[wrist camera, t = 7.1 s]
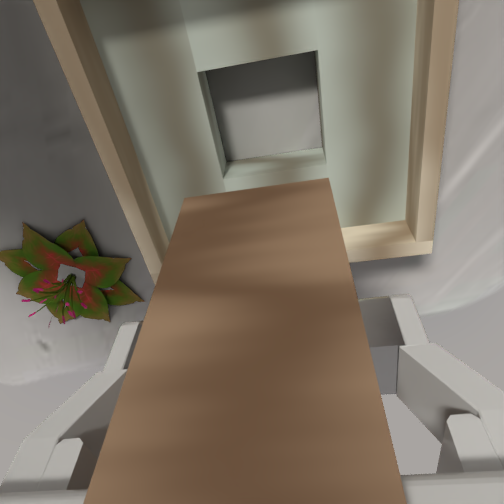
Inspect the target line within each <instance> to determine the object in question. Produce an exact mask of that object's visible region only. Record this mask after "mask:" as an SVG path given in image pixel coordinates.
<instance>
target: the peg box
mask: <svg viewBox="0 0 504 504" xmlns="http://www.w3.org/2000/svg"><path fill="white" fill-rule="evenodd" d="M33 2H34V4H35V7H36V9H37V11H38V14H39V16H40V18H41V20H42V23H43V25H44V27H45V30H46V32H47V34H48V37H49V39H50V41H51V44H52V46H53V48H54V51H55V53H56V55H57V58H58V60H59V62H60V65H61V67H62V69H63V72H64V74H65V76H66V79H67V81H68V83H69V86H70V88H71V90H72V93H73V95H74V97H75V100H76V102H77V104H78V107H79V109H80V111H81V114H82V116H83V118H84V121H85V123H86V125H87V128H88V130H89V132H90V135H91V137H92V139H93V142H94V144H95V146H96V149H97V151H98V153H99V156H100V158H101V160H102V163H103V165H104V167H105V170H106V172H107V174H108V177H109V179H110V181H111V184H112V186H113V188H114V191H115V193H116V195H117V198H118V200H119V202H120V205H121V207H122V209H123V212H124V214H125V216H126V219H127V221H128V223H129V226H130V228H131V230H132V233H133V235H134V237H135V240H136V242H137V244H138V247H139V249H140V251H141V254H142V256H143V258H144V261H145V263H146V265H147V268H148V270H149V272H150V275H151V277H152V279H153V282H154V284H155V285H156V282H157V279H158V276H159V273H160V270H161V267H162V264H163V261H164V258H165V255H166V252H167V249H168V246H169V243H170V240H171V237H172V234H173V231H174V228H175V225H176V222H177V219H178V216H179V213H180V210H181V207H182V204H183V201H184V198H187V197H195V196H202V195H209V194H216V193H223V192H230V191H237V190H244V189H251V188H258V187H265V186H272V185H279V184H287V183H294V182H301V181H308V180H315V179H322V178H329V181H330V185H331V189H332V193H333V198H334V202H335V206H336V210H337V214H338V218H339V223H340V227H341V231H342V235H343V239H344V243H345V248H346V252H347V256H348V260H349V263H352V262H361V261H369V260H378V259H387V258H395V257H404V256H413V255H422V254H430V253H432V246H433V236H434V227H435V218H436V209H437V199H438V190H439V181H440V172H441V162H442V153H443V144H444V134H445V125H446V116H447V107H448V97H449V88H450V79H451V69H452V60H453V51H454V42H455V32H456V23H457V14H458V4H459V0H33ZM310 51H315V62H316V74H317V87H318V100H319V112H320V125H321V138H322V147H321V148H315V149H308V150H302V151H295V152H288V153H282V154H275V155H269V156H262V157H256V158H249V159H243V160H236V161H229V162H226V158H225V154H224V150H223V145H222V141H221V137H220V133H219V128H218V124H217V120H216V115H215V111H214V107H213V102H212V98H211V94H210V90H209V85H208V81H207V77H206V72H205V71H206V70H212V69H217V68H223V67H228V66H233V65H239V64H244V63H250V62H255V61H261V60H266V59H272V58H277V57H282V56H288V55H293V54H299V53H304V52H310Z"/></svg>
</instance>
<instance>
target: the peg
mask: <svg viewBox="0 0 504 504" xmlns="http://www.w3.org/2000/svg"><path fill="white" fill-rule="evenodd" d="M83 504H407V502H406V498H405V494H404V490H403V485H402V481H401V477H400V473H399V469H398V465H397V460H396V456H395V452H394V448H393V444H392V440H391V436H390V431H389V428H388V423H387V419H386V415H385V410H384V406H383V402H382V398H381V394H380V389H379V385H378V381H377V377H376V373H375V369H374V364H373V360H372V356H371V352H370V348H369V344H368V339H367V335H366V331H365V327H364V323H363V319H362V314H361V310H360V306H359V302H358V298H357V293H356V289H355V285H354V281H353V277H352V273H351V268H350V264H349V260H348V256H347V252H346V248H345V243H344V239H343V235H342V231H341V227H340V223H339V218H338V214H337V210H336V206H335V202H334V198H333V193H332V189H331V185H330V181H329V178H322V179H315V180H308V181H301V182H294V183H287V184H279V185H272V186H265V187H258V188H251V189H244V190H237V191H230V192H223V193H216V194H209V195H202V196H195V197H187V198H184V201H183V204H182V207H181V210H180V213H179V216H178V219H177V222H176V225H175V228H174V231H173V234H172V237H171V240H170V243H169V246H168V249H167V252H166V255H165V258H164V261H163V264H162V267H161V270H160V273H159V276H158V279H157V282H156V285H155V288H154V291H153V294H152V297H151V300H150V303H149V306H148V309H147V312H146V315H145V318H144V321H143V324H142V327H141V330H140V333H139V336H138V340H137V343H136V346H135V349H134V352H133V355H132V358H131V361H130V364H129V367H128V370H127V373H126V376H125V379H124V382H123V385H122V388H121V391H120V394H119V397H118V400H117V403H116V406H115V409H114V412H113V415H112V418H111V421H110V424H109V427H108V430H107V433H106V436H105V439H104V442H103V445H102V448H101V451H100V454H99V457H98V460H97V463H96V466H95V469H94V472H93V475H92V478H91V481H90V484H89V487H88V491H87V494H86V497H85V500H84V503H83Z"/></svg>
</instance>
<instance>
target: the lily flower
mask: <svg viewBox="0 0 504 504" xmlns="http://www.w3.org/2000/svg"><path fill="white" fill-rule="evenodd" d="M23 227H24V229H23V237H24V240H23V241H22V249H15V250H4V251H1V252H0V260H1V261H2V262H4V263H5V265H6V266H7V267H8V268H9V269H10V270H11V271H12V272H14V273H15V274H17V275H19V276H21V277H24V278H23V279H22V280H21V282H20V283H19V287H18V289H19V291H18V292H17V293H16V294H19V295H22V296H24V297H26V298H31V300H30V299H28V300H24V299H22V302H30V301H35V302H38V303H39V304H40V303H42V304H46V305H45V306H47V308H48V309H49V311H50V312H51V313H52V314H53V315H54V316H55V317H57V318H58V319H59V320H58V321H59V322H60V324H61V323H62V322H63V323H64V322H65V321H68V319H74V318H76V317H78V316H79V315H81V316H83V317H85V318H90V319H98V320H99V319H104V320H105V321H109V322H110V320H109V316H108V315H109V311H108V304H109V305H117V306H121V305H126V304H131V303H134V302H135V301H138V302H145V301H144V300H142V299H140V297H138V296H137V295H136V294H134V293H133V291H132V290H130V289H129V288H128V287H127V286H126V285H125V284H123V283H122V282H121V281H120V280H118V279H119V278H120V276H121V275H122V273H123V271H124V269H125V263H128V262H129V260H130V259H131V258H111V257H99V255H98V251H97V248H96V246H95V244H94V242H93V239H92V237H91V235H90V233H89V232H88V231H87V229H86V228H85V227H86V225H85V222H84V220H83V221H82V222H81V223H80V224H77V225H76V226H74V227H73V229H68V230H67V231H65V232H63V233H62V234H61V235H59V236H58V237H57V238H56V240H55V242H54V243H52V242H50V241H48V240H47V239H45V238H44V237H42V236H41V235H40V234H38V233H37V232H35V231H33V230H31V229H30V228H29V227H28V226H27V225H26V224H24V223H23ZM76 248H79V250H80V252H81V254H82V257H78V258H76V259H75V260H73V258H72V257H71V256H70V255H69V254H68V253H69V252H71V251H72V250H74V249H76ZM24 260H25V261H24ZM26 261H29V262H30V263H31V264H32V265H33V266H35V267H37V268H39V269H41V270H39V271H38V270H37V269H35V268H34V267H32V266H31V265H30V264H29V263H28V262H26ZM60 264H65V265H68V266H72V267H76V268H78V269H81V270H83V271H86V273H85V282H84V285H83V287H82V288H79V287H77V286H76V282H75V278H76V277H74V276H75V275H73V276H72V274H70V275H68V276H67V278H66V279H65V280H63V279H62V282H60V281H57V277H58V269H59V267H60ZM67 281H68V282H67ZM66 282H67V283H66ZM71 283H72V286H71ZM73 285H74V286H73ZM97 287H98V288H108V287H111V288H112V289H114V290H111V289H110V290H101V291H100V290H99V289H98V288H97ZM62 299H64V301H62ZM65 305H66V307H65ZM45 306H43V307H45ZM43 307H42V308H43ZM42 308H41V309H42ZM64 308H65V309H64ZM41 309H39V310H41ZM39 310H38V311H39ZM38 311H37V312H38ZM35 313H36V312H34V313H33V314H31V315H29V317H30V316H32V315H34V314H35ZM52 317H53V316H52ZM50 322H51V321H50ZM64 324H65V323H64ZM49 325H50V324H49ZM48 328H49V327H48Z"/></svg>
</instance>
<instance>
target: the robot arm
mask: <svg viewBox="0 0 504 504" xmlns="http://www.w3.org/2000/svg"><path fill="white" fill-rule="evenodd" d="M358 302H359V306H360V310H361V314H362V319H363V323H364V327H365V331H366V335H367V339H368V344H369V348H370V352H371V356H372V360H373V364H374V369H375V373H376V377H377V381H378V385H379V389H380V394H397V396H398V397H399V399H400V400H401V401H402V402H403V403H404V404H405V405H406V406H407V407H408V408H409V409H410V410H411V411H412V413H413V414H414V415H415V416H416V417H417V418H418V419H419V420H420V421H421V422H422V423H423V424H424V425H425V426H426V428H427V429H428V430H429V431H430V432H431V433H432V434H433V435H434V436H435V437H436V438H437V439H438V440H439V441H440V442H441V444H442V447H441V452H440V457H439V462H438V467H437V472H436V474H418V475H417V474H415V475H400V477H401V481H402V485H403V490H404V494H405V498H406V502H407V504H504V392H503V391H502V390H500V389H499V388H498V387H496V386H495V385H494V384H492V383H491V382H489V381H488V380H487V379H485V378H484V377H483V376H481V375H480V374H478V373H477V372H476V371H474V370H473V369H472V368H470V367H469V366H467V365H466V364H465V363H463V362H462V361H461V360H459V359H458V358H456V357H455V356H454V355H452V354H451V353H450V352H448V351H447V350H445V349H444V348H443V347H441V346H440V345H439V344H437V343H430V342H429V339H428V337H427V334H426V332H425V329H424V327H423V324H422V322H421V319H420V317H419V314H418V312H417V309H416V307H415V304H414V302H413V299H412V297H411V295H409V294H401V295H392V296H383V297H374V298H365V299H358ZM142 324H143V321H137V322H124V323H123V324H122V325H121V327H120V329H119V331H118V334H117V336H116V339H115V342H114V344H113V347H112V349H111V352H110V354H109V357H108V360H107V362H106V365H105V367H104V370H103V371H101V372H97V373H96V374H95V375H94V376H93V377H92V378H90V379H89V381H87V382H86V383H85V384H84V385H83V386H82V387H81V388H80V389H79V390H77V391H76V392H75V393H74V394H73V395H72V396H71V397H70V398H69V399H67V400H66V401H65V402H64V403H63V404H62V405H61V406H60V407H59V408H58V409H57V410H55V411H54V413H52V414H51V415H50V416H49V417H48V418H47V419H46V420H45V421H43V423H41V424H40V425H39V426H38V427H37V428H36V429H35V430H34V431H32V432H31V434H29V435H28V436H27V437H26V438H25V439H24V440H23V442H22V444H21V446H20V448H19V450H18V452H17V454H16V456H15V458H14V460H13V462H12V464H11V466H10V468H9V470H8V472H7V474H6V476H5V478H4V480H3V482H2V485H1V486H0V504H83V503H84V500H85V497H86V494H87V491H88V487H89V484H90V481H91V478H92V475H93V472H94V469H95V466H96V463H97V460H98V457H99V454H100V451H101V448H102V445H103V442H104V439H105V436H106V433H107V430H108V427H109V424H110V421H111V418H112V415H113V412H114V409H115V406H116V403H117V400H118V397H119V394H120V391H121V388H122V385H123V382H124V379H125V376H126V373H127V370H128V367H129V364H130V361H131V358H132V355H133V352H134V349H135V346H136V343H137V340H138V336H139V333H140V330H141V327H142Z"/></svg>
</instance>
